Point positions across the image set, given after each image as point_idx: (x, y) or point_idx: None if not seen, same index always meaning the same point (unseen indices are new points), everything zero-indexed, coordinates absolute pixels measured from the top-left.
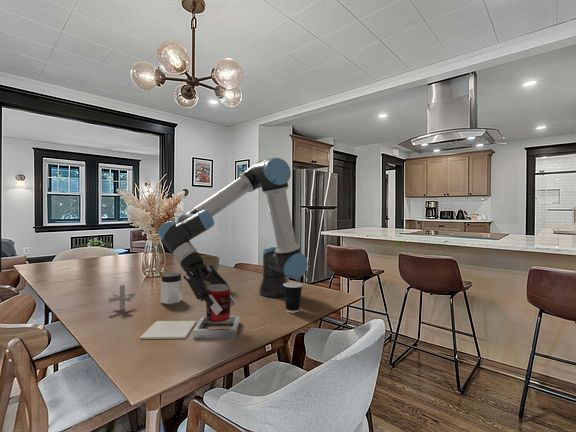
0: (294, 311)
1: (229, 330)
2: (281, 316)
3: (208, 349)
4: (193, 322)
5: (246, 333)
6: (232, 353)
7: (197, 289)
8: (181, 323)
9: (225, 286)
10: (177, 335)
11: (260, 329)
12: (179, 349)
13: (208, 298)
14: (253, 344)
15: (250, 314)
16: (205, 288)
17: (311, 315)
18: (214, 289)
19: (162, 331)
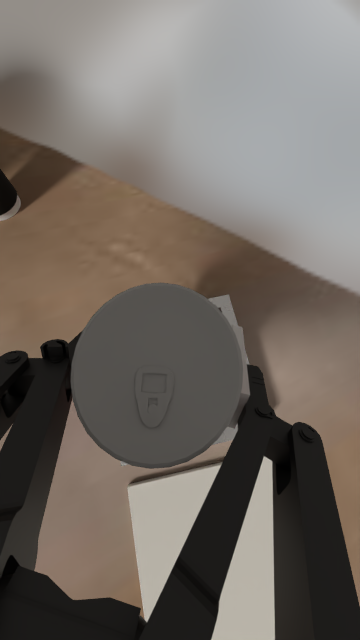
0: (17, 195)
1: (233, 311)
2: (50, 225)
3: (312, 345)
4: (145, 488)
5: (189, 283)
6: (311, 280)
7: (329, 497)
8: (163, 538)
9: (118, 326)
10: (271, 488)
11: (155, 256)
12: (342, 429)
13: (259, 394)
14: (250, 249)
15: (34, 315)
16: (244, 446)
17: (39, 160)
18: (240, 362)
19: (255, 577)
